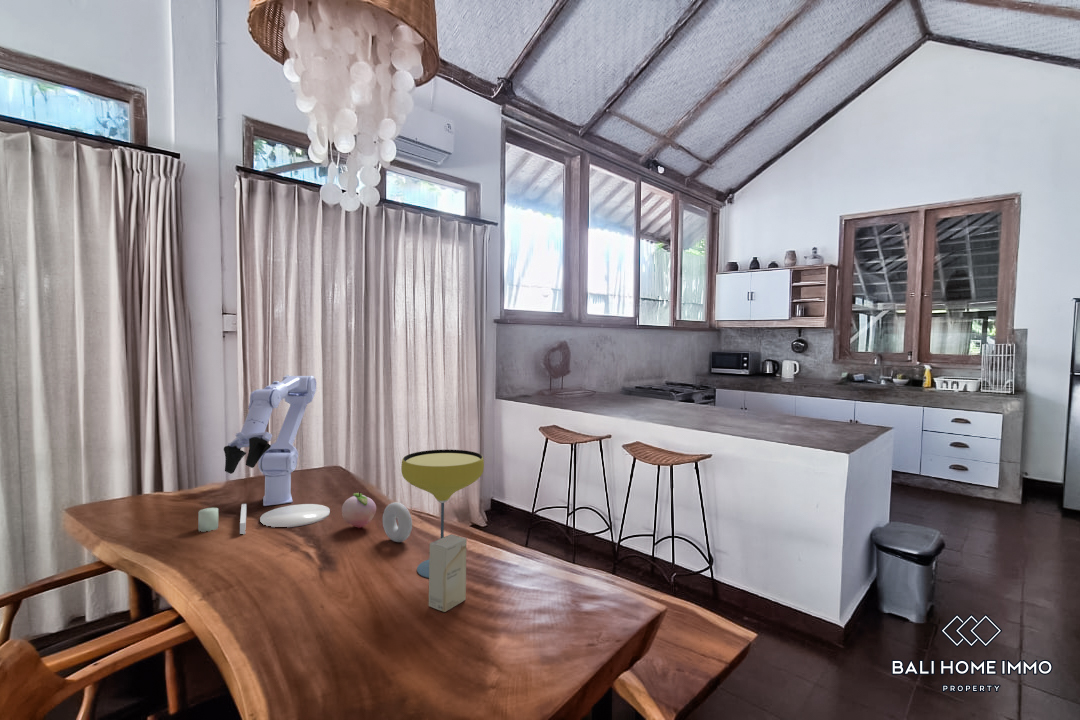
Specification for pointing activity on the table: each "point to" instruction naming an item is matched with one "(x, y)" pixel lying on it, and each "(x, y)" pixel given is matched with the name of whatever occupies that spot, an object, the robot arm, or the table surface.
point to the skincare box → (447, 572)
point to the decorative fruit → (358, 510)
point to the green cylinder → (208, 519)
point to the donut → (404, 522)
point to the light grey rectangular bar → (243, 519)
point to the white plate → (295, 515)
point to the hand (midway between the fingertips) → (239, 469)
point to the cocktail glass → (441, 477)
